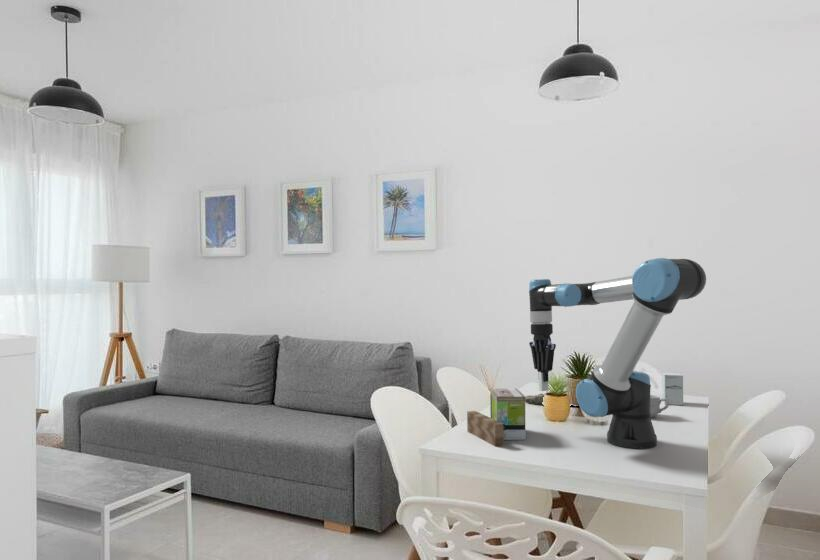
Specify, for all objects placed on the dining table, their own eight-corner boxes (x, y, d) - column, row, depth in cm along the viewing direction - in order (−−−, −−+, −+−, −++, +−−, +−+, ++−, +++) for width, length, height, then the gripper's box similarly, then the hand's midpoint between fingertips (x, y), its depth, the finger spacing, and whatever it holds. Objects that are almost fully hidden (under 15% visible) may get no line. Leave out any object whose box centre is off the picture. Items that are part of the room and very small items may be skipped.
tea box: (526, 440, 188) (526, 395, 188) (496, 440, 188) (495, 396, 188) (518, 428, 203) (517, 387, 203) (489, 429, 203) (489, 387, 203)
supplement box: (664, 404, 237) (663, 374, 237) (662, 401, 244) (661, 371, 244) (683, 405, 235) (683, 375, 235) (680, 402, 242) (680, 372, 242)
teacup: (624, 416, 219) (624, 395, 219) (638, 411, 226) (638, 391, 226) (660, 422, 208) (660, 400, 208) (673, 417, 216) (673, 396, 216)
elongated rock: (609, 414, 229) (609, 410, 238) (609, 401, 229) (610, 397, 238) (521, 404, 241) (526, 400, 251) (522, 391, 242) (526, 388, 251)
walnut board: (503, 445, 183) (503, 423, 183) (495, 446, 182) (495, 424, 182) (475, 430, 202) (474, 410, 202) (467, 431, 200) (467, 411, 200)
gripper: (561, 323, 195) (564, 392, 194) (539, 322, 207) (542, 387, 207) (543, 324, 192) (545, 394, 192) (522, 323, 205) (524, 388, 204)
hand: (544, 390), depth 199 cm, fingers closed
